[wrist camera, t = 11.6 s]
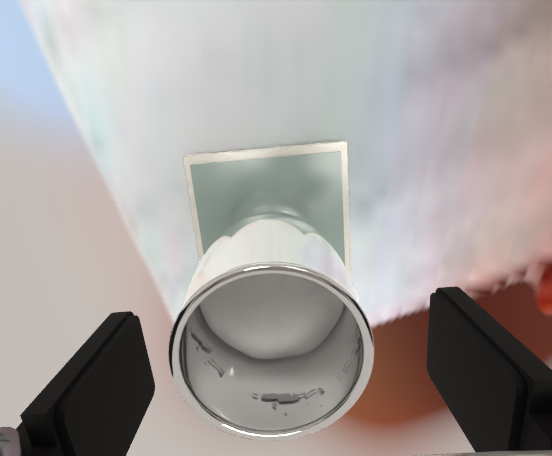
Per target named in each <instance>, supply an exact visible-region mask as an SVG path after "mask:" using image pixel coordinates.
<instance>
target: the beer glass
mask: <svg viewBox="0 0 552 456" xmlns="http://www.w3.org/2000/svg"><path fill="white" fill-rule="evenodd" d="M168 353H169V354H168V355H169V365H170V370H171V374H172V378H173V380H174V383H175V385H176V387H177V389H178V391H179V393H180V394H181V396H182V397H183V399H184V400H185V402H186V403H187V404H188V405H189V407H190V408H191V409H192V410H193V411H194V412H195V413H196V414H197V415H199V416H200V417H201V418H202V419H203V420H205V421H206V422H208V423H209V424H211V425H212V426H214V427H216V428H218V429H220V430H222V431H224V432H226V433H229V434H231V435H234V436H238V437H241V438H245V439H251V440H258V441H282V440H290V439H295V438H300V437H303V436H306V435H309V434H312V433H315V432H317V431H319V430H321V429H323V428H325V427H327V426H329V425H330V424H332V423H333V422H335V421H336V420H338V419H339V418H340V417H341V416H343V415H344V414H345V413H346V412H347V411H348V410H349V409H350V408H351V407H352V406H353V405H354V404H355V402H356V401H357V400H358V398H359V397H360V396H361V394H362V392H363V391H364V389H365V387H366V385H367V383H368V380H369V378H370V375H371V371H372V367H373V360H374V341H373V335H372V331H371V327H370V324H369V322H368V319H367V317H366V315H365V313H364V311H363V310H362V307H361V304H360V301H359V298H358V295H357V293H356V290H355V288H354V285H353V283H352V280H351V278H350V276H349V274H348V272H347V270H346V268H345V266H344V264H343V262H342V260H341V258H340V257H339V255H338V254H337V252H336V251H335V249H334V248H333V247H332V245H331V244H330V243H329V241H328V240H327V239H326V238H325V237H324V236H323V235H322V234H321V233H320V232H318V231H317V230H316V229H315V228H314V227H313V226H311V223H310V219H309V216H308V214H307V212H306V211H305V209H304V208H303V206H302V205H301V204H300V203H299V202H298V201H297V200H295V199H294V198H292V197H290V196H288V195H286V194H283V193H279V192H271V191H270V192H261V193H258V194H255V195H253V196H251V197H249V198H247V199H246V200H245V201H243V202H242V203H241V204H240V205H239V207H238V208H237V209H236V211H235V213H234V215H233V217H232V220H231V224H230V227H228V228H227V229H226V230H225V231H224V232H223V233H222V234H220V235H219V236H218V237H217V238H216V239H215V240H214V242H213V243H212V244H211V246H210V247H209V248H208V250H207V251H206V253H205V254H204V256H203V257H202V259H201V261H200V262H199V264H198V266H197V268H196V271H195V273H194V275H193V277H192V279H191V281H190V284H189V287H188V289H187V292H186V295H185V297H184V300H183V303H182V306H181V310H180V312H179V314H178V316H177V318H176V320H175V322H174V325H173V328H172V331H171V335H170V340H169V351H168Z"/></svg>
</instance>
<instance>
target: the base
mask: <svg viewBox="0 0 552 456" xmlns="http://www.w3.org/2000/svg"><path fill="white" fill-rule="evenodd" d="M183 160H184V167H185V173H186V179H187V185H188V192H189V198H190V204H191V211H192V217H193V223H194V229H195V236H196V242H197V248H198V254H199V261H201V259H202V257H203V256H204V254H205V253H206V251H207V250H208V248H209V247H210V246H211V244H212V243H213V242H214V240H215V239H216V238H217V237H218V236H219V235H220V234H222V233H223V232H224V231H225V230H226V229H227V228H228V227H230V224H231V220H232V217H233V215H234V213H235V211H236V209H237V208H238V207H239V205H240V204H241V203H242V202H243V201H245V200H246V199H247V198H249V197H251V196H253V195H255V194H258V193H261V192H270V191H271V192H279V193H283V194H286V195H288V196H290V197H292V198H294V199H295V200H297V201H298V202H299V203H300V204H301V205H302V206H303V208H304V209H305V211H306V212H307V214H308V216H309V219H310V223H311V226H313V227H314V228H315V229H316V230H317V231H318V232H320V233H321V234H322V235H323V236H324V237H325V238H326V239H327V240H328V241H329V243H330V244H331V245H332V247H333V248H334V249H335V251H336V252H337V254H338V255H339V257H340V258H341V260H342V262H343V264H344V266H345V268H346V270H347V272H348V274H349V276H350V278H351V263H350V229H349V196H348V162H347V142H342V141H335V142H324V143H313V144H302V145H291V146H280V147H269V148H258V149H247V150H236V151H225V152H214V153H203V154H193V155H188V156H184V157H183Z"/></svg>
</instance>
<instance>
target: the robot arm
mask: <svg viewBox="0 0 552 456" xmlns="http://www.w3.org/2000/svg"><path fill="white" fill-rule="evenodd" d="M427 370H428V374H429V376H430V378H431V380H432V381H433V383H434V385H435V386H436V388H437V390H438V391H439V393H440V394H441V396H442V398H443V399H444V401H445V403H446V404H447V406H448V408H449V409H450V411H451V413H452V414H453V416H454V417H455V419H456V421H457V422H458V424H459V426H460V427H461V429H462V430H463V432H464V434H465V435H466V437H467V439H468V440H469V442H470V444H471V445H472V447H473V449H474V450H475V453H452V454H432V455H414V456H552V370H551V369H550V368H549V367H548V366H547V365H546V364H545V363H543V362H542V361H541V360H540V359H539V358H538V357H537V356H535V355H534V354H533V353H532V352H531V351H530V350H529V349H528V348H527V347H525V346H524V345H523V344H522V343H521V342H520V341H519V340H518V339H516V338H515V337H514V336H513V335H512V334H511V333H510V332H508V331H507V330H506V329H505V328H504V327H503V326H502V325H501V324H500V323H498V322H497V321H496V320H495V319H494V318H493V317H491V315H489V314H488V313H487V312H486V311H485V310H484V309H483V308H481V307H480V306H479V305H478V304H477V303H476V302H475V301H474V300H472V299H471V298H470V297H469V296H468V295H467V294H466V293H465V292H463V291H462V290H461V289H460V288H459V287H444V288H438V289H437V290H436V292H435V293H432V294H431V296H430V312H429V329H428V348H427ZM154 391H155V383H154V379H153V374H152V370H151V366H150V362H149V357H148V354H147V349H146V345H145V341H144V336H143V332H142V328H141V324H140V320H139V317H138V316H134V314H133V313H132V312H130V311H129V312H117V313H111V314H110V315H109V316H108V317H107V318H106V320H105V321H104V322H103V323H102V324H101V325H100V326H99V327H98V329H97V330H96V331H95V332H94V333H93V334H92V335H91V337H90V338H89V339H88V340H87V341H86V342H85V343H84V344H83V345H82V347H81V348H80V349H79V350H78V351H77V352H76V353H75V354H74V356H73V357H72V358H71V359H70V360H69V361H68V362H67V363H66V365H65V366H64V367H63V368H62V369H61V370H60V371H59V373H58V374H57V375H56V376H55V377H54V378H53V379H52V380H51V381H50V382H49V384H48V385H47V386H46V387H45V388H44V389H43V390H42V391H41V393H40V394H39V395H38V396H37V397H36V398H35V399H34V401H33V402H32V403H31V404H30V405H29V406H28V407H27V408H26V410H25V411H24V412H23V413H22V414H21V415H20V416H21V419H22V421H23V422H22V423H21V424H20V425H19V426H18V427H17V429H14V428H11V427H0V456H126V454H127V452H128V450H129V448H130V445H131V443H132V441H133V439H134V437H135V434H136V432H137V430H138V428H139V426H140V424H141V421H142V419H143V417H144V415H145V413H146V411H147V408H148V406H149V404H150V402H151V400H152V397H153V395H154Z"/></svg>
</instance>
